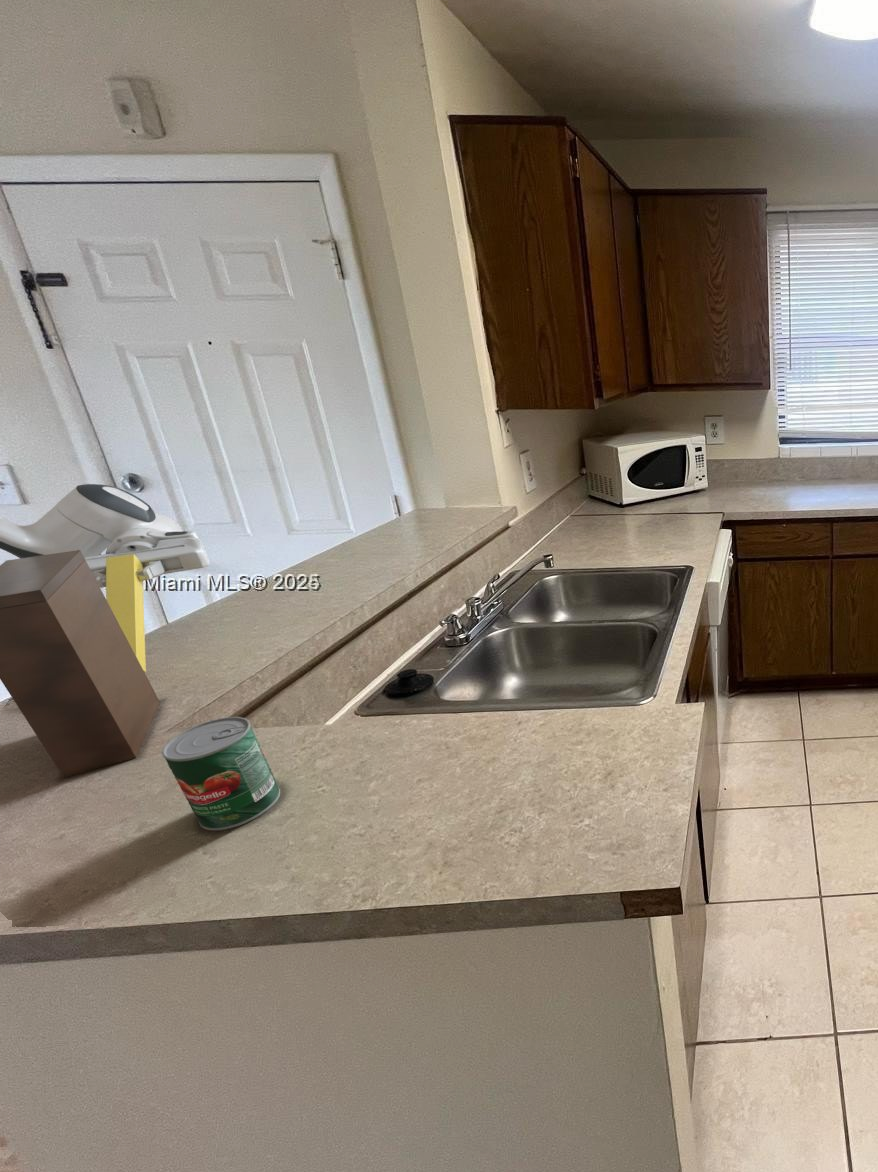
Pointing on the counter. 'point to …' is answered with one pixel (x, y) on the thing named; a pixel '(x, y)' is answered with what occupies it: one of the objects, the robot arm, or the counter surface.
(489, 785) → the counter surface
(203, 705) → the counter surface
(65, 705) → the walnut stand
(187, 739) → the canned tomato
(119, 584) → the yellow bar
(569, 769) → the counter surface
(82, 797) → the counter surface
